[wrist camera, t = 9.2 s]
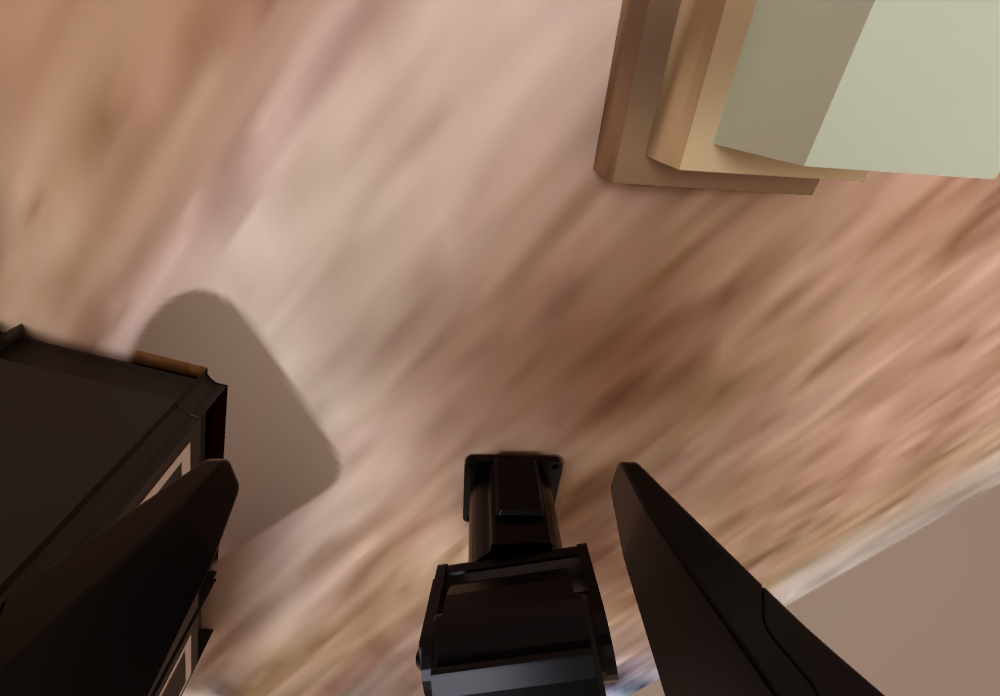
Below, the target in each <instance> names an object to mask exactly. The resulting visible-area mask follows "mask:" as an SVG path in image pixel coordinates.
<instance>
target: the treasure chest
mask: <svg viewBox="0 0 1000 696" xmlns="http://www.w3.org/2000/svg"><path fill="white" fill-rule="evenodd" d="M23 333H24V330H23V326H22V324H20V325H18V326H16V327H14V328H12V329H10V330H8V331H7V332H5V333H2V332H1V331H0V601H2V600H5V599H6V597H7V596H8V595H10V594H11V593H13V592H14V591H16V590H17V589H19V588H20V587H21V586H23V585H24V584H26V583H27V582H29V581H30V580H32V579H33V578H35V577H36V576H37V575H39V574H40V573H42V572H43V571H45V570H46V569H48V568H49V567H50V566H52V565H53V564H55V563H56V562H58V561H59V560H61V559H62V558H64V557H65V556H66V555H68V554H69V553H71V552H72V551H74V550H75V549H77V548H78V547H80V546H81V545H82V544H84V543H85V542H87V541H88V540H90V539H91V538H93V537H94V536H96V535H97V534H98V533H100V532H101V531H103V530H104V529H106V528H107V527H109V526H110V525H112V524H113V523H114V522H116V521H117V520H119V519H120V518H122V517H123V516H125V515H126V514H128V513H129V512H130V511H132V510H133V509H135V508H136V507H138V506H139V505H141V504H142V503H143V502H145V501H146V500H148V499H149V498H151V497H152V496H154V495H155V494H157V493H158V492H159V491H161V490H162V489H164V488H165V487H167V486H168V485H170V484H171V483H173V482H174V481H175V480H177V479H178V478H180V477H181V476H183V475H184V474H186V473H187V472H189V471H190V470H191V469H193V468H194V467H196V466H197V465H199V464H200V463H202V462H203V461H205V460H208V459H224V445H225V427H226V410H227V391H228V390H227V389H228V385H225V384H221V383H217V382H215V381H214V380H212V379H211V378H210V376H209V375H208V368H207V367H203V366H199V365H195V364H191V363H187V362H183V361H179V360H175V359H171V358H166V357H163V356H159V355H154V354H150V353H147V352H143V351H139V350H134V349H132V351H131V355H130V356H129V359H128V362H127V363H126V362H122V361H118V360H114V359H110V358H106V357H101V356H97V355H93V354H89V353H85V352H81V351H77V350H72V349H68V348H64V347H60V346H56V345H52V344H48V343H43V342H39V341H35V340H31V339H27V338H23ZM218 549H219V547H218ZM218 549H217V552H216V554H215V557H214V560H213V562H212V564H213V563H215V562H216V561H218V551H219V550H218ZM215 574H216V572H213V571H208V573H207V575H206V577H205V579H204V581H203V583H202V585H201V587H200V589H199V591H198V593H197V596H196V598H195V600H194V602H193V604H192V606H191V608H190V610H189V612H188V614H187V616H186V618H185V620H184V622H183V624H182V627H181V629H180V631H179V633H178V635H177V637H176V639H175V641H174V643H173V645H172V647H171V649H170V651H169V653H168V656H167V658H166V660H165V662H164V664H163V666H162V668H161V670H160V672H159V674H158V676H157V678H156V680H155V682H154V685H153V687H152V689H151V691H150V693H149V695H148V696H182V694H183V692H184V690H185V688H186V686H187V683H188V681H189V679H190V677H191V675H192V673H193V671H194V669H195V667H196V665H197V663H198V661H199V659H200V657H201V655H202V652H203V650H204V648H205V646H206V644H207V642H208V640H209V638H210V636H211V634H212V632H213V630H210V629H201V607H202V605H203V603H204V601H205V600H206V598H207V596H208V594H209V592H210V590H211V588H212V586H213V584H214V583H215V581H216V579H213V578H214V576H215Z"/></svg>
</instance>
